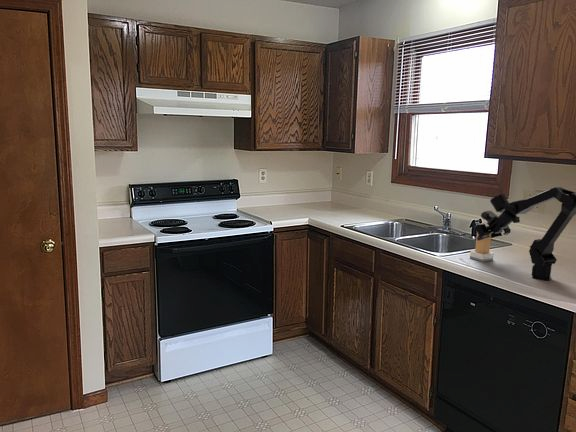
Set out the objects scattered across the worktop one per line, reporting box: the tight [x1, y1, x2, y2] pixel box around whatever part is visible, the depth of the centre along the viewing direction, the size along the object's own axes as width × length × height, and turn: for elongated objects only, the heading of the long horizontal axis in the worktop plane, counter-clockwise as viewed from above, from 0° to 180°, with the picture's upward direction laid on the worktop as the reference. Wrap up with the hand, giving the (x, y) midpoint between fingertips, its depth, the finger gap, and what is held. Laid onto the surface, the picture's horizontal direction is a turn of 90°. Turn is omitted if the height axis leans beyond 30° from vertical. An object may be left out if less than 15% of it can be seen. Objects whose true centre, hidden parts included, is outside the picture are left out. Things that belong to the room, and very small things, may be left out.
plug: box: [474, 232, 492, 254], centre depth 226 cm, size 4×4×12 cm
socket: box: [469, 249, 494, 263], centre depth 227 cm, size 7×7×4 cm
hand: (481, 239), depth 227 cm, fingers closed on plug, 4 cm apart
